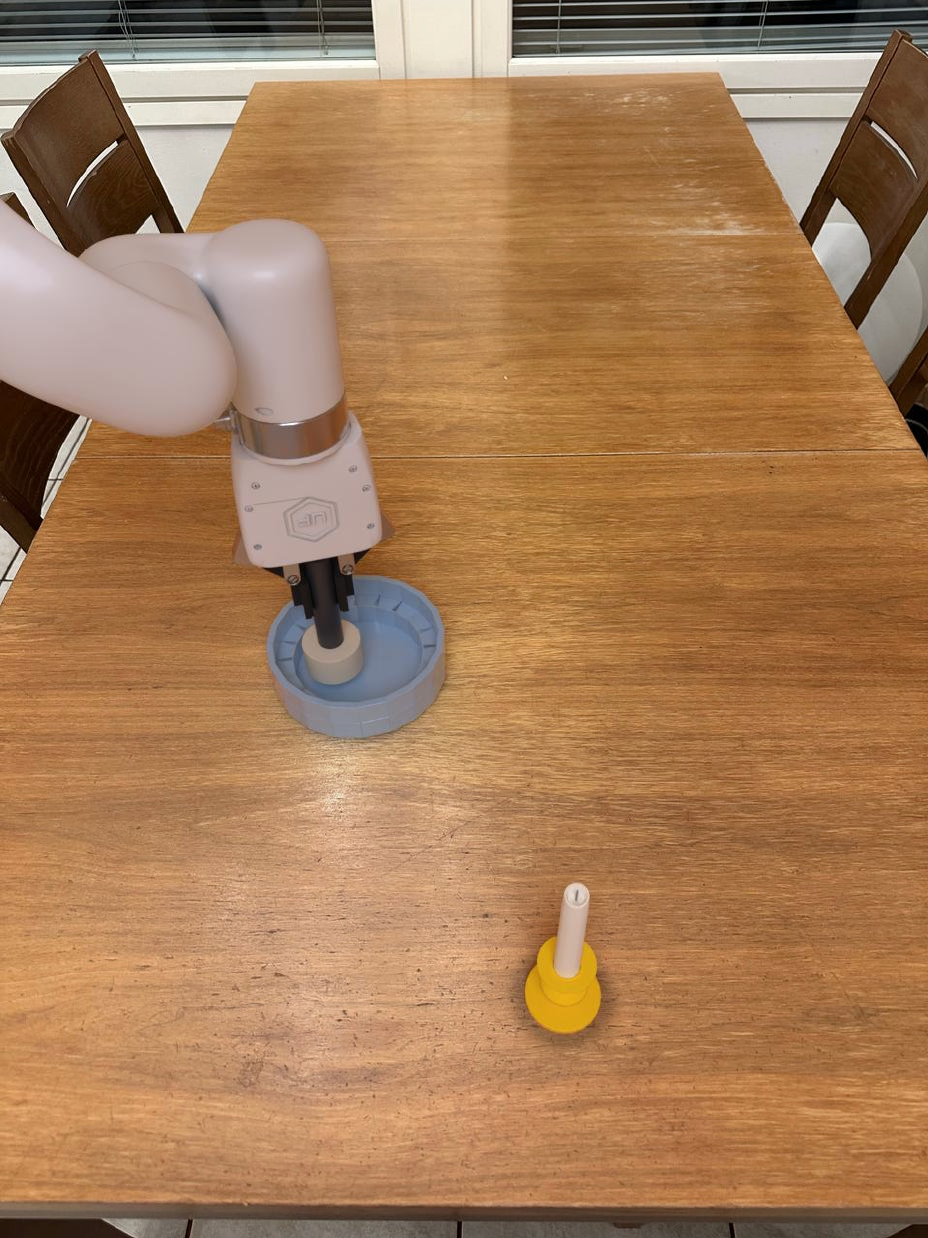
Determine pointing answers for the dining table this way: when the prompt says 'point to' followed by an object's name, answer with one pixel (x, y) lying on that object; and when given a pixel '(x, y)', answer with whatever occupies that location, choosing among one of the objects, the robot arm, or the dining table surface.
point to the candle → (566, 971)
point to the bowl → (365, 662)
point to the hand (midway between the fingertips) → (324, 602)
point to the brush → (329, 630)
